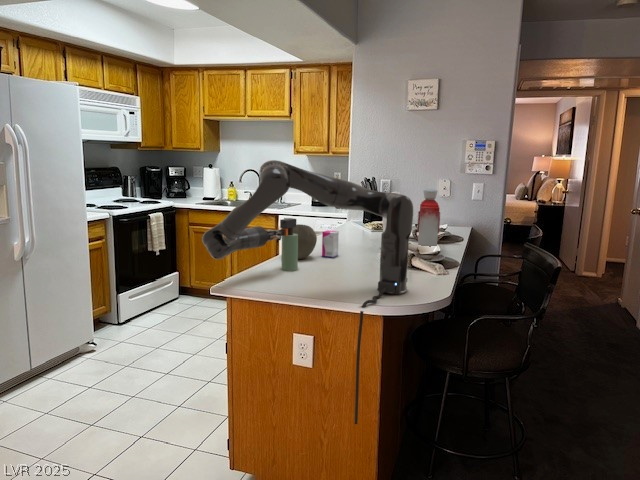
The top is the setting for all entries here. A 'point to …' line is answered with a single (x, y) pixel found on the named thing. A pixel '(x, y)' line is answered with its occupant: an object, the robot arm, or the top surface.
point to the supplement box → (330, 244)
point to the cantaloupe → (305, 240)
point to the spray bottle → (289, 246)
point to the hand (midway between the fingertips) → (283, 232)
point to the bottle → (428, 219)
